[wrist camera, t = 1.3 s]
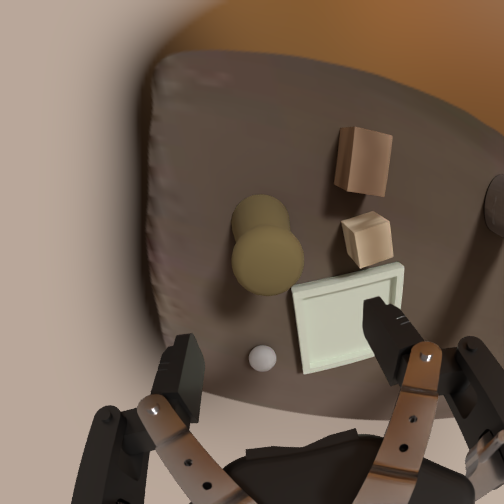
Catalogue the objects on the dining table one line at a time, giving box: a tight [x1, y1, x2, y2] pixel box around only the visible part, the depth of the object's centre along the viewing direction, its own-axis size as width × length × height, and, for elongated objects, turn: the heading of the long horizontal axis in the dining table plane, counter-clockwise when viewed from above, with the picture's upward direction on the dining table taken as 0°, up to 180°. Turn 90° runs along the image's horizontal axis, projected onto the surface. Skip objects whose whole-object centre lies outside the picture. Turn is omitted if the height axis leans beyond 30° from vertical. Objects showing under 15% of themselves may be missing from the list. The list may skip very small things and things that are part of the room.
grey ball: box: [249, 345, 276, 372], centre depth 33 cm, size 4×4×4 cm
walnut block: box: [334, 127, 392, 197], centre depth 24 cm, size 4×6×4 cm, turn 176°
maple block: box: [341, 211, 393, 269], centre depth 27 cm, size 4×4×4 cm
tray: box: [291, 262, 404, 374], centre depth 33 cm, size 14×14×2 cm
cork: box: [231, 194, 304, 296], centre depth 23 cm, size 6×6×11 cm
